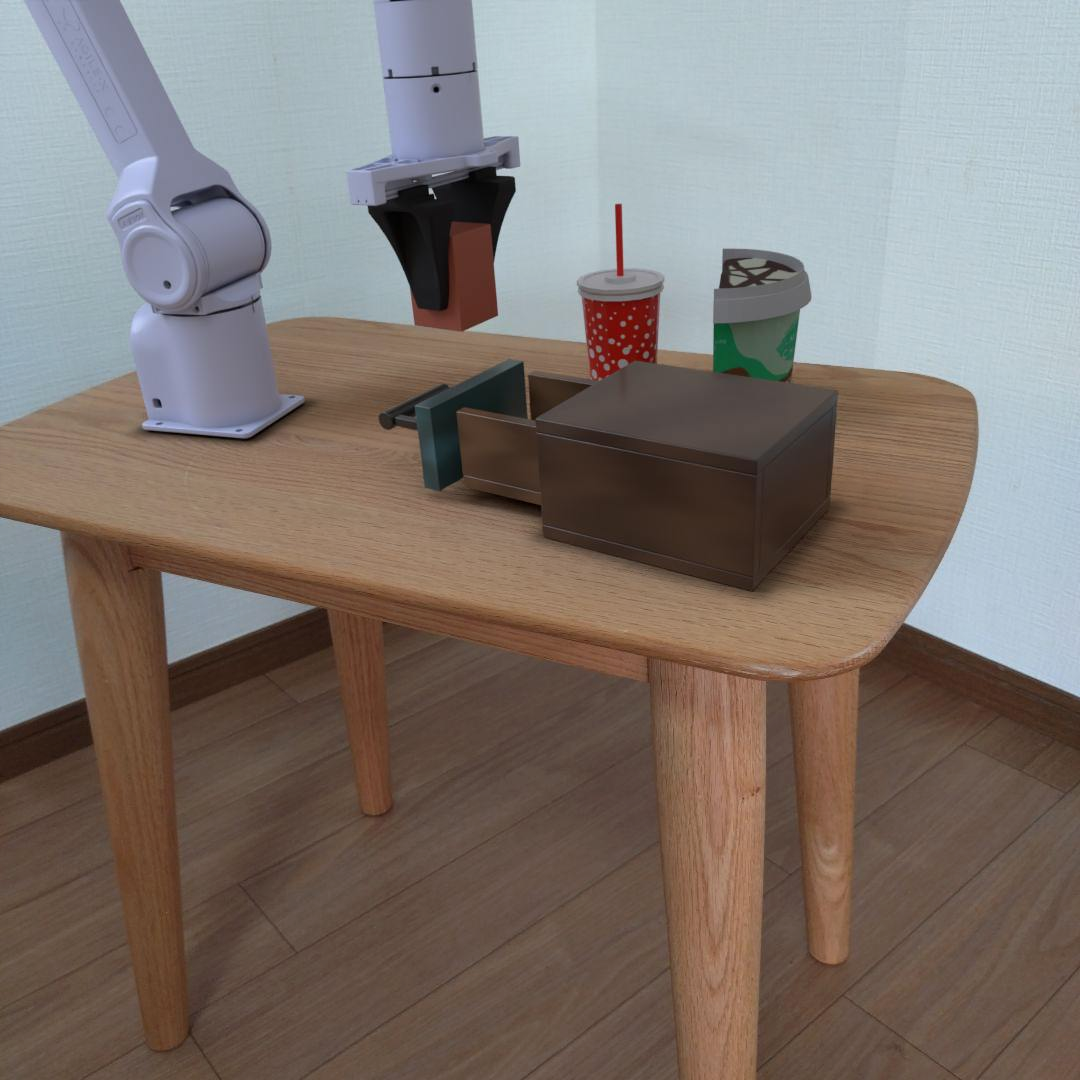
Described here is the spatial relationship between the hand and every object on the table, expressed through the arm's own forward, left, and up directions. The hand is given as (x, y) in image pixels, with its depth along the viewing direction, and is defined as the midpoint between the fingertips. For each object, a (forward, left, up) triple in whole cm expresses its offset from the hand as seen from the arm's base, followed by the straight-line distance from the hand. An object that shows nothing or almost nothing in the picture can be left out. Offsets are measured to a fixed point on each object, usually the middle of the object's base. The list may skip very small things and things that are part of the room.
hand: (454, 299), depth 68 cm
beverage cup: (+9, +8, -10) cm, 16 cm away
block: (0, 0, -1) cm, 1 cm away
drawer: (+6, -7, -9) cm, 13 cm away
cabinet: (+18, -10, -10) cm, 23 cm away
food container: (+19, +8, -10) cm, 23 cm away
